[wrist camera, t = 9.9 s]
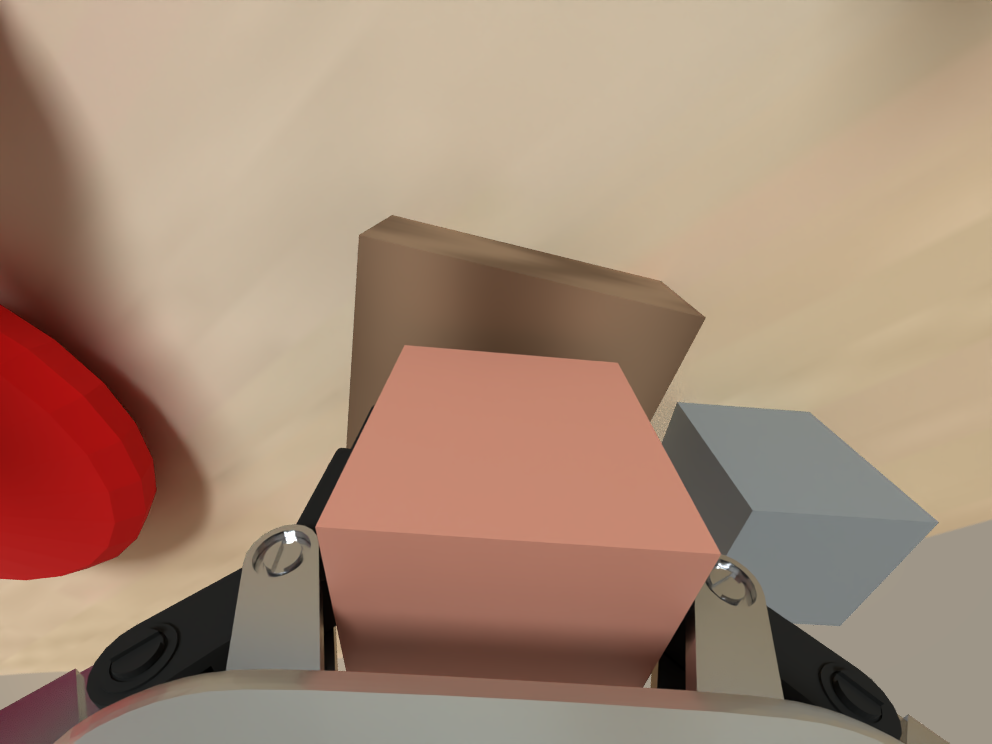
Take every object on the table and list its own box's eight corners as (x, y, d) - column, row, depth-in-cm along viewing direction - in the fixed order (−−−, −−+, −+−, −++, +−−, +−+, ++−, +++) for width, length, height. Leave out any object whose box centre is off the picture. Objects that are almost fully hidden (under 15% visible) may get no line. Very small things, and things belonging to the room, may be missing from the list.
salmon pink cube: (617, 362, 11) (720, 553, 6) (577, 509, 14) (622, 722, 9) (404, 345, 11) (315, 527, 6) (409, 497, 14) (354, 708, 9)
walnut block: (657, 278, 15) (705, 317, 11) (572, 469, 20) (588, 537, 16) (394, 213, 14) (359, 235, 10) (372, 431, 19) (343, 496, 15)
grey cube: (808, 411, 18) (939, 522, 12) (753, 504, 20) (840, 625, 15) (676, 401, 17) (753, 510, 12) (640, 497, 20) (689, 617, 15)
